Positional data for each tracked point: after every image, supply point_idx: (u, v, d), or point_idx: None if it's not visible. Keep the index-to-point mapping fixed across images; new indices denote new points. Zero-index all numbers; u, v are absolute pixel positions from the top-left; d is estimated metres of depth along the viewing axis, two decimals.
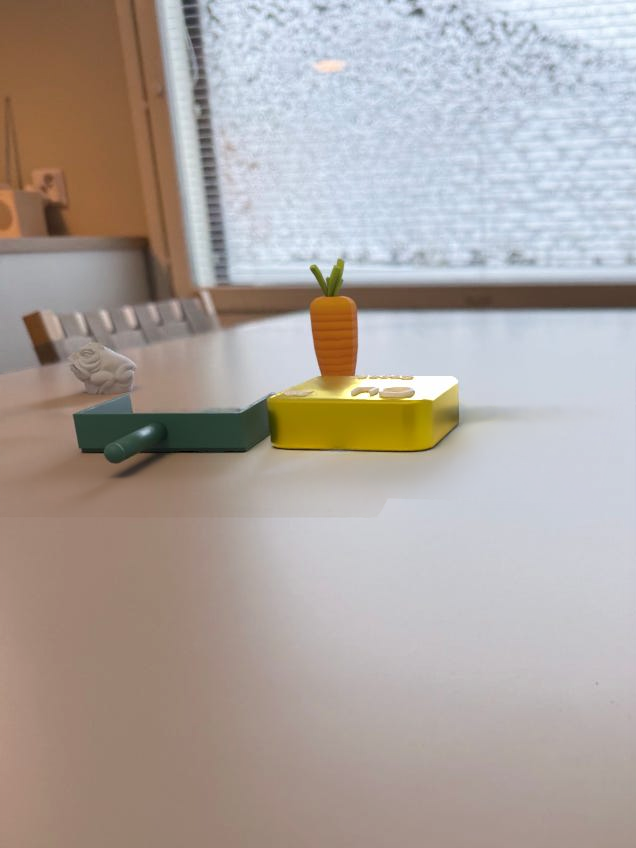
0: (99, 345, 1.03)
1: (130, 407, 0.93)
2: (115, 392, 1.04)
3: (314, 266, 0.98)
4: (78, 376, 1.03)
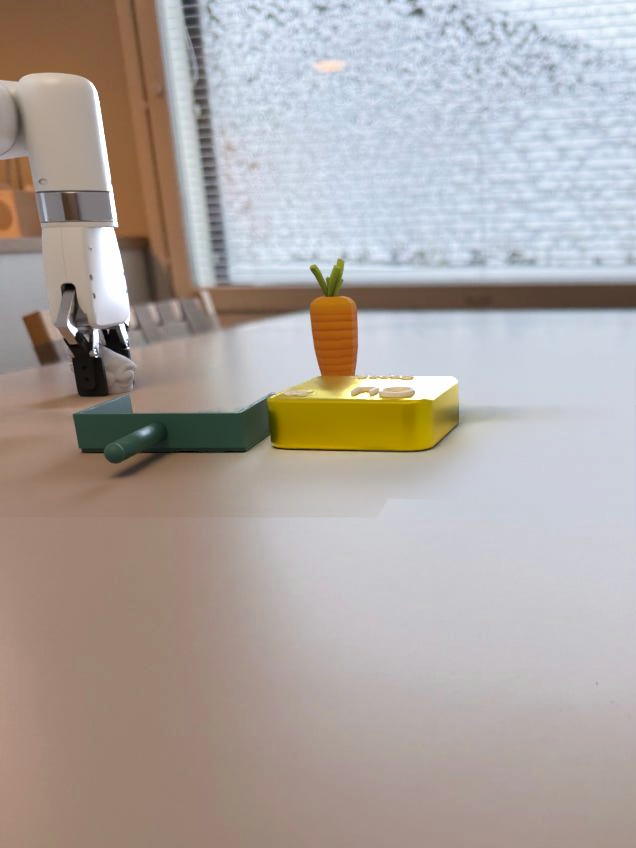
0: (99, 345, 1.03)
1: (130, 407, 0.93)
2: (115, 392, 1.04)
3: (314, 266, 0.98)
4: None
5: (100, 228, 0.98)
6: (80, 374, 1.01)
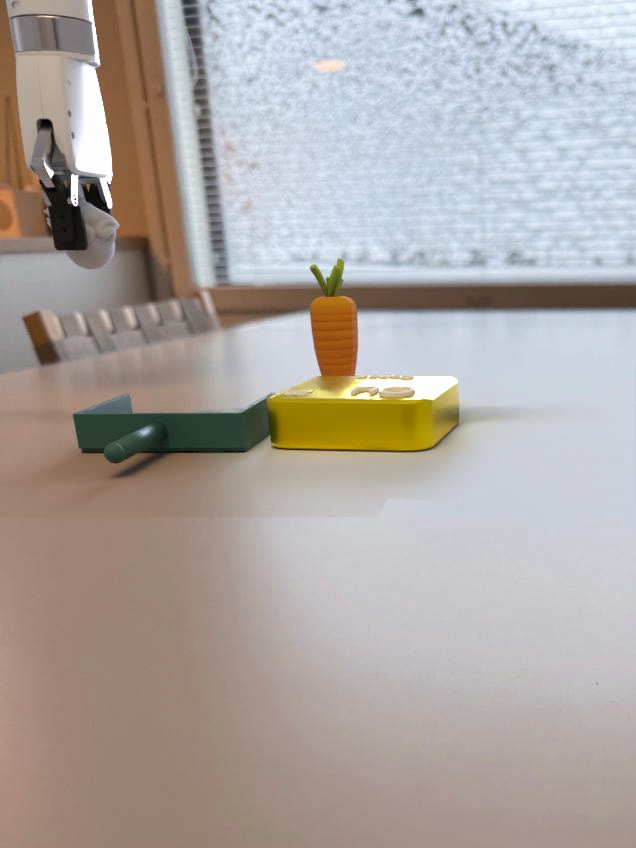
0: (78, 197, 0.95)
1: (130, 407, 0.93)
2: (96, 249, 0.96)
3: (314, 266, 0.98)
4: None
5: (80, 63, 0.91)
6: (57, 224, 0.93)
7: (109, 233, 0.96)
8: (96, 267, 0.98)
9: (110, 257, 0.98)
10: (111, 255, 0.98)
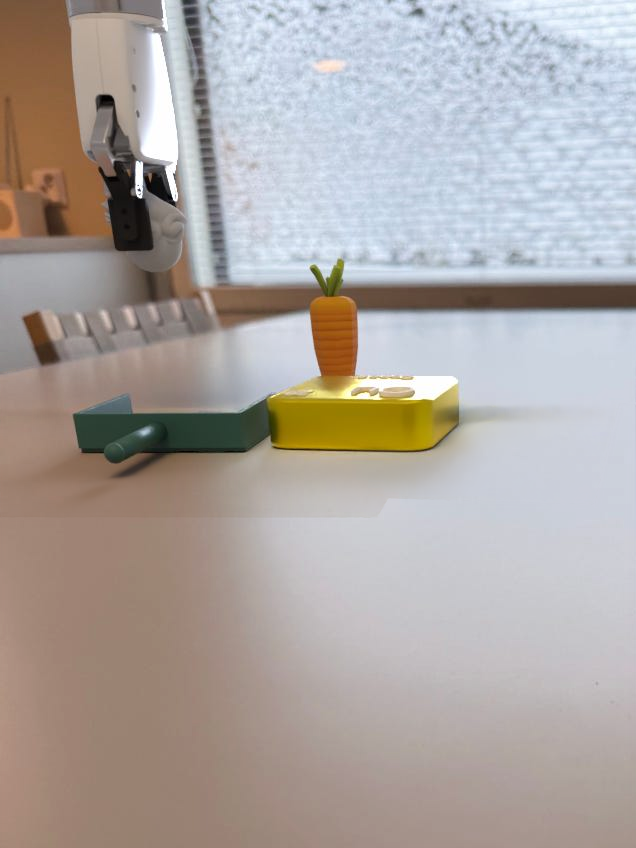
0: (142, 188, 0.81)
1: (130, 407, 0.93)
2: (162, 248, 0.82)
3: (314, 266, 0.98)
4: None
5: (145, 28, 0.77)
6: (118, 220, 0.79)
7: (177, 230, 0.82)
8: (161, 270, 0.84)
9: (177, 258, 0.84)
10: (179, 255, 0.84)
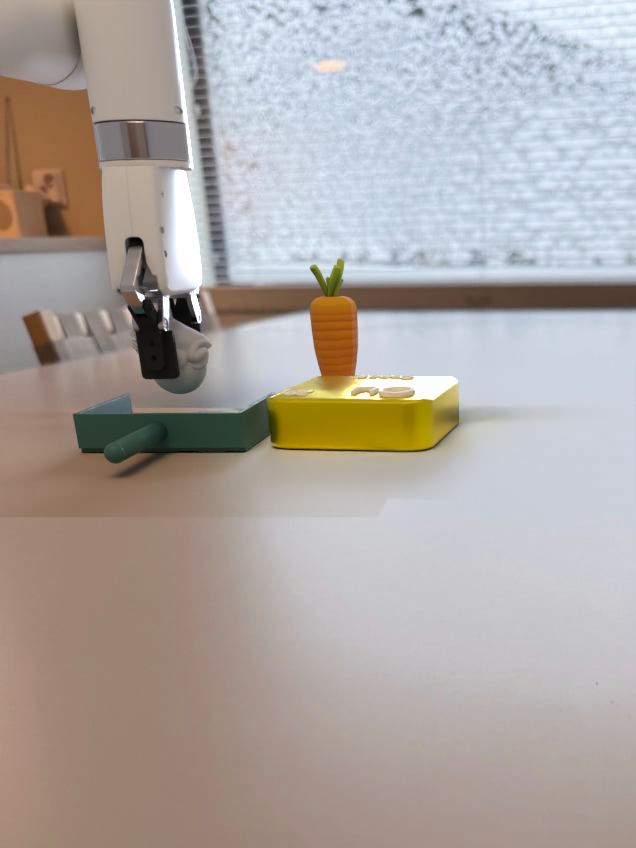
0: None
1: (130, 407, 0.93)
2: (187, 374, 0.85)
3: (314, 266, 0.98)
4: None
5: (173, 170, 0.79)
6: (146, 352, 0.81)
7: (202, 356, 0.85)
8: (186, 392, 0.86)
9: (202, 380, 0.87)
10: (203, 378, 0.87)
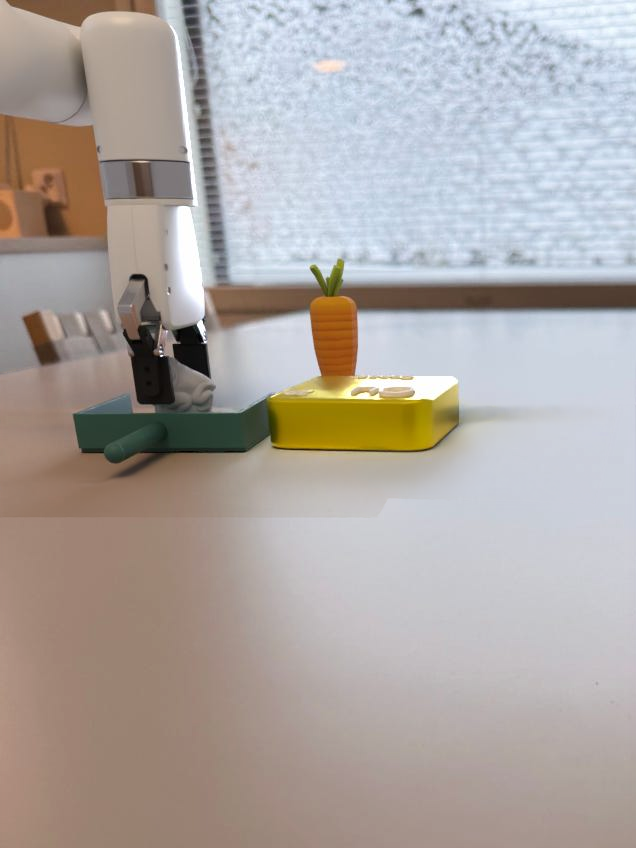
0: (173, 361, 0.85)
1: (130, 407, 0.93)
2: None
3: (314, 266, 0.98)
4: None
5: (177, 207, 0.80)
6: (141, 377, 0.81)
7: (207, 399, 0.86)
8: None
9: None
10: None
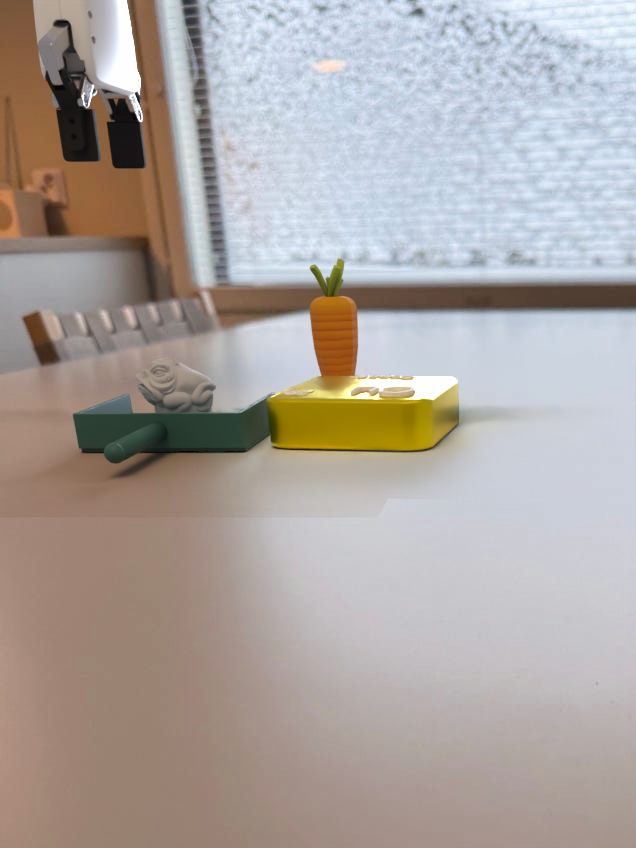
0: (173, 360, 0.85)
1: (130, 407, 0.93)
2: None
3: (314, 266, 0.98)
4: (148, 398, 0.85)
5: None
6: (66, 130, 0.82)
7: (207, 399, 0.86)
8: None
9: None
10: None
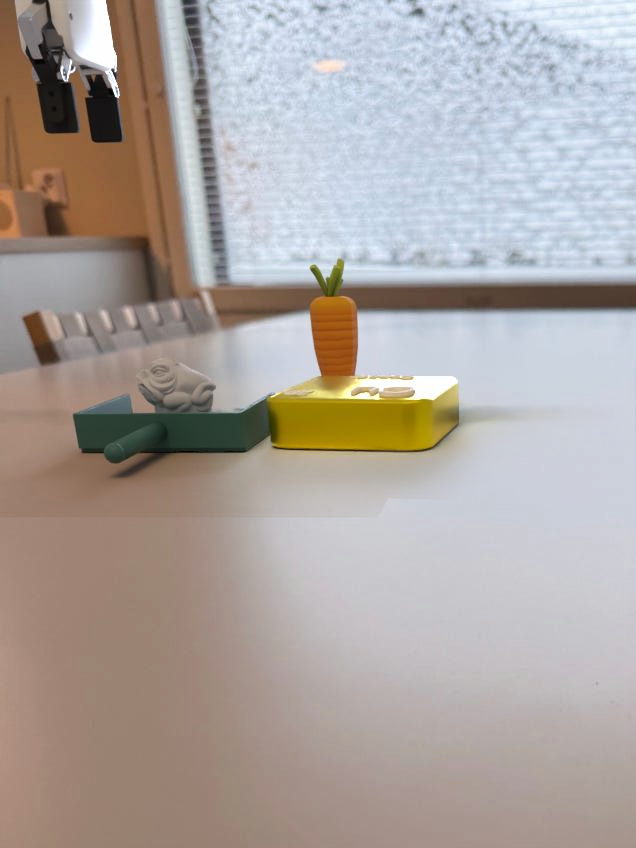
0: (173, 360, 0.85)
1: (130, 407, 0.93)
2: None
3: (314, 266, 0.98)
4: (148, 398, 0.85)
5: None
6: (46, 102, 0.86)
7: (207, 399, 0.86)
8: None
9: None
10: None
